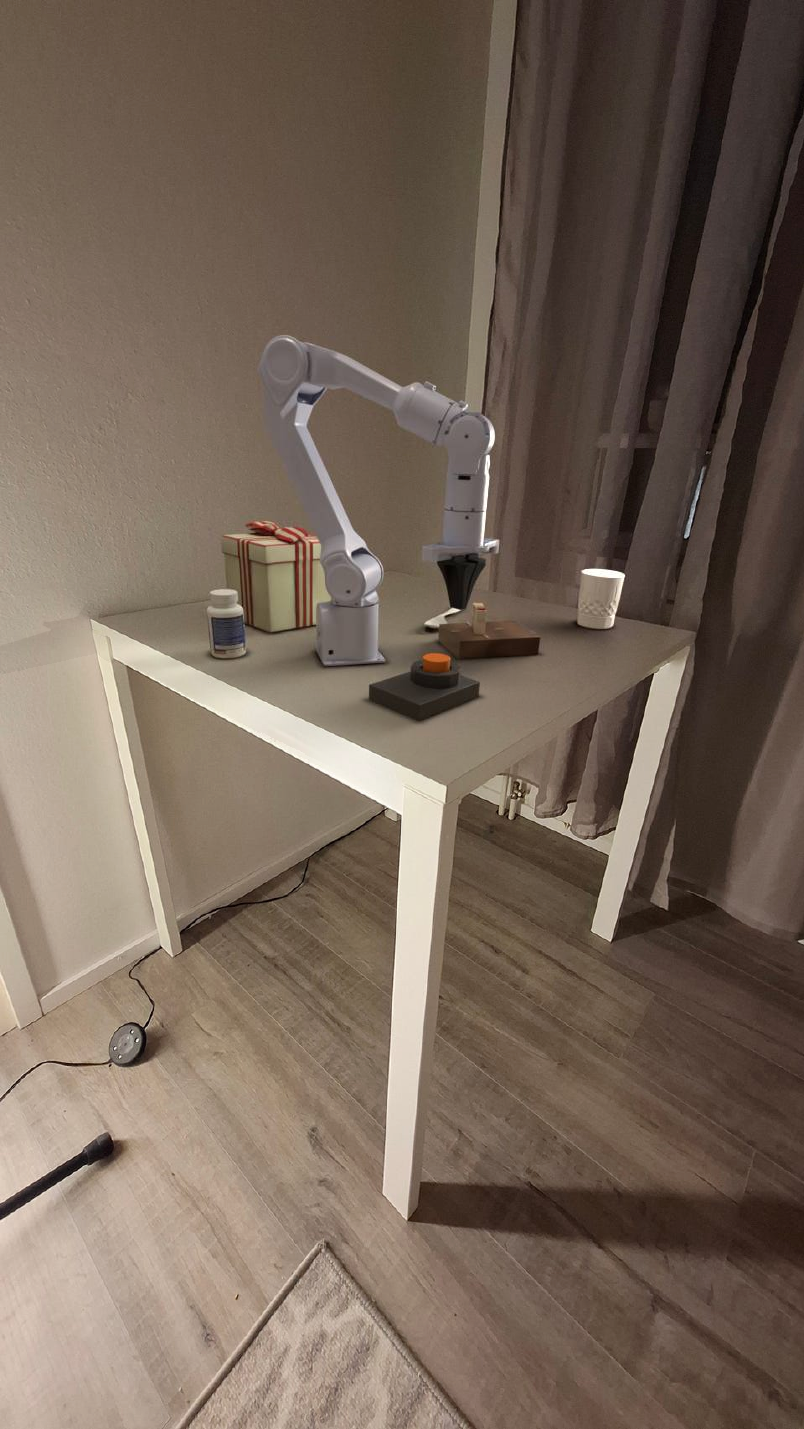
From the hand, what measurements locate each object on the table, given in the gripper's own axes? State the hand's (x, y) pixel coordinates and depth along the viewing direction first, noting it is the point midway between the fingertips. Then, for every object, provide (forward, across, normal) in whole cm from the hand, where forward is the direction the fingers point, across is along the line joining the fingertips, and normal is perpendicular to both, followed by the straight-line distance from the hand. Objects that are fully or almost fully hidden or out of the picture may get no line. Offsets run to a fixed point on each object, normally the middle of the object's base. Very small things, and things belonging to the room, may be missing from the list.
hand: (458, 607), depth 89 cm
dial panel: (+9, +13, +3) cm, 16 cm away
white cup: (+10, +41, -1) cm, 42 cm away
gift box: (+10, -3, +40) cm, 41 cm away
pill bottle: (+10, -22, +27) cm, 36 cm away
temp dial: (+6, +11, +4) cm, 13 cm away
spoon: (+10, +21, +20) cm, 30 cm away
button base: (+9, -12, -5) cm, 16 cm away
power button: (+6, -10, -5) cm, 13 cm away
